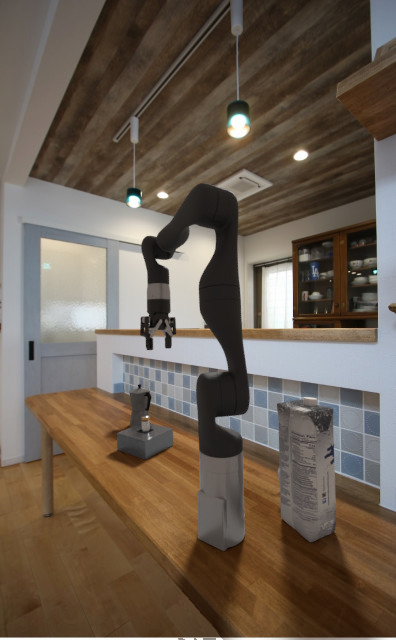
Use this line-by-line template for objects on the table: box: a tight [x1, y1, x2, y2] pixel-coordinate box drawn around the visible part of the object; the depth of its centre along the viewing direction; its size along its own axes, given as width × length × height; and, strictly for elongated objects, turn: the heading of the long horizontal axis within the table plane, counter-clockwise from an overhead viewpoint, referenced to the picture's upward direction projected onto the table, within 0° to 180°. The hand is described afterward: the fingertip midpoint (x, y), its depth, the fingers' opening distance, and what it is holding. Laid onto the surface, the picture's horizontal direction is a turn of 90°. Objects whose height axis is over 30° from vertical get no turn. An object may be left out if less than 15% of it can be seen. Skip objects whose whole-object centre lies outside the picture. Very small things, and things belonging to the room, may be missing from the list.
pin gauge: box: [142, 415, 151, 434], centre depth 105 cm, size 3×3×10 cm
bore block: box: [116, 422, 174, 460], centre depth 105 cm, size 14×14×6 cm
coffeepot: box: [128, 383, 152, 428], centre depth 129 cm, size 15×9×18 cm, turn 43°
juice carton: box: [276, 396, 337, 543], centre depth 63 cm, size 9×10×27 cm
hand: (159, 349), depth 93 cm, fingers open, 8 cm apart
